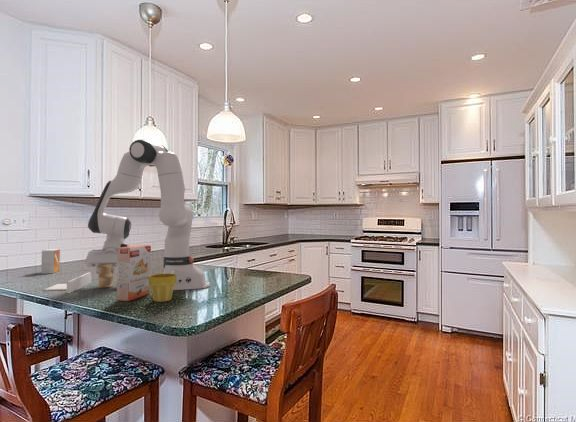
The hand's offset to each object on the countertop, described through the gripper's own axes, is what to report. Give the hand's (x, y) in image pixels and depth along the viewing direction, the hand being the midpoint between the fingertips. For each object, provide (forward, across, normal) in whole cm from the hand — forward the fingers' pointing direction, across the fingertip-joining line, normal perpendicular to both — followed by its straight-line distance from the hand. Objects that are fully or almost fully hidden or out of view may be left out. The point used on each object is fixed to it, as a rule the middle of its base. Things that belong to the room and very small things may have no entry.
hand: (105, 272), depth 161 cm
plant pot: (+25, +30, -15) cm, 42 cm away
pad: (+4, -18, +6) cm, 19 cm away
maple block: (+4, 0, +5) cm, 6 cm away
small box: (-29, -44, +38) cm, 65 cm away
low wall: (+4, -11, +5) cm, 13 cm away
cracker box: (+21, +18, -11) cm, 29 cm away
